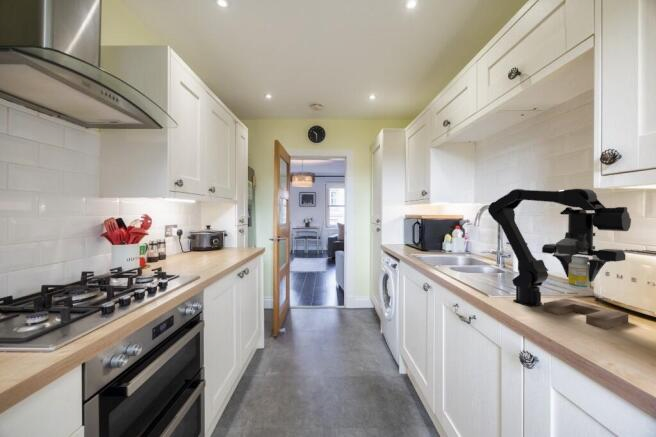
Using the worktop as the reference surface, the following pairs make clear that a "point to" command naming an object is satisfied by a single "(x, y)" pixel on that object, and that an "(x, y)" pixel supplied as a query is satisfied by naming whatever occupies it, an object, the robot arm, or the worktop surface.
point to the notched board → (588, 312)
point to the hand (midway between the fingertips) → (579, 279)
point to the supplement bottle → (579, 273)
